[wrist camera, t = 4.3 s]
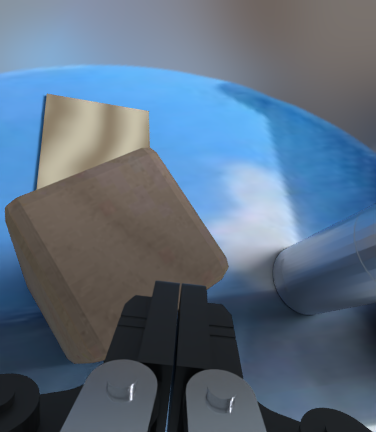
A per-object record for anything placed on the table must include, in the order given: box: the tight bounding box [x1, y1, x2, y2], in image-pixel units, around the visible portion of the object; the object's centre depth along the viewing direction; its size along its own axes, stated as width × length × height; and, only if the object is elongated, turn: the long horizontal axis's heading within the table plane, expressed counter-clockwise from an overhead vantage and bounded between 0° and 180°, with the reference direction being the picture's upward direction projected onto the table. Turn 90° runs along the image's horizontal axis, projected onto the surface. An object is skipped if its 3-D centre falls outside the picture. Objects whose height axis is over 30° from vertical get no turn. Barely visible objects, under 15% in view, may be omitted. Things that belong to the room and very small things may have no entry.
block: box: [5, 147, 229, 364], centre depth 28 cm, size 10×10×20 cm
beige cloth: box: [37, 94, 150, 189], centre depth 43 cm, size 13×18×1 cm
